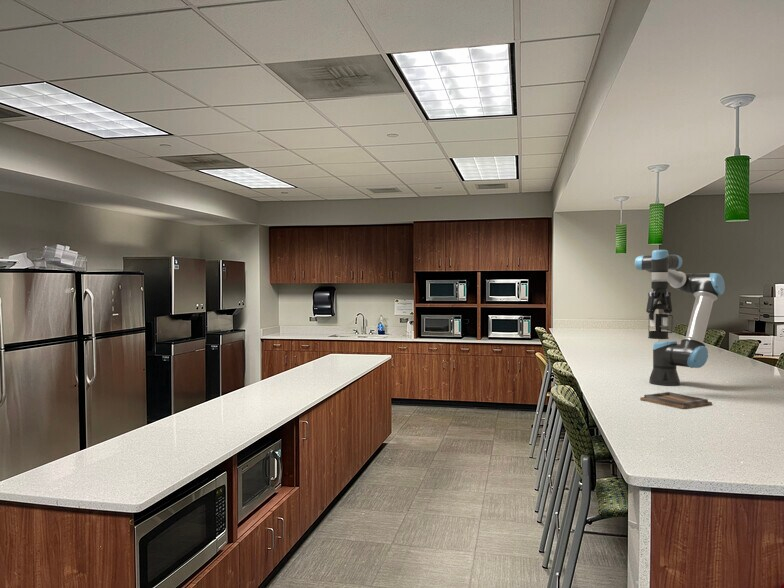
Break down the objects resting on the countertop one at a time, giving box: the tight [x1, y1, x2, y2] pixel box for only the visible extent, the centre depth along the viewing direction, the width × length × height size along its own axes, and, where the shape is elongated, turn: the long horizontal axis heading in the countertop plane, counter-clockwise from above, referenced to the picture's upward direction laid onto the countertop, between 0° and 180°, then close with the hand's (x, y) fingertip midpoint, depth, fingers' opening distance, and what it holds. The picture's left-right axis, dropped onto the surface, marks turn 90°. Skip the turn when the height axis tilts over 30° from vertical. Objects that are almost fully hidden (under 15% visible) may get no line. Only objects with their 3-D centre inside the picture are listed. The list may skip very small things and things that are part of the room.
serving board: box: [640, 391, 713, 410], centre depth 265 cm, size 20×22×2 cm
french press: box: [647, 301, 674, 340], centre depth 288 cm, size 12×9×23 cm
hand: (659, 326), depth 288 cm, fingers closed on french press, 9 cm apart
